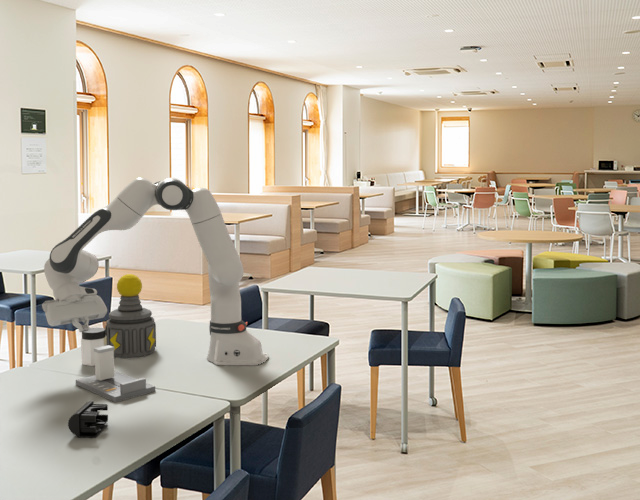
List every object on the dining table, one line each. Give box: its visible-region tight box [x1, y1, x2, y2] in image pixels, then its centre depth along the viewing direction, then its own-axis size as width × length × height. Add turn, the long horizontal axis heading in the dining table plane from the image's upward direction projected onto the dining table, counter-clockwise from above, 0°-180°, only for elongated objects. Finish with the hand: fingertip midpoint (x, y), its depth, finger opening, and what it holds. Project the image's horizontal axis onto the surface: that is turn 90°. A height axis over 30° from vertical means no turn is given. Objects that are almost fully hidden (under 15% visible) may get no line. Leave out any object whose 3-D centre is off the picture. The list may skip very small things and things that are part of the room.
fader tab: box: [94, 345, 115, 380], centre depth 218 cm, size 3×5×10 cm, turn 137°
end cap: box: [67, 400, 109, 439], centre depth 180 cm, size 10×7×7 cm
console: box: [75, 370, 156, 403], centre depth 215 cm, size 24×14×5 cm, turn 47°
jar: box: [80, 327, 107, 367], centre depth 242 cm, size 9×8×12 cm
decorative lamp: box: [104, 273, 157, 359], centre depth 255 cm, size 19×19×30 cm
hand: (85, 330), depth 226 cm, fingers closed
